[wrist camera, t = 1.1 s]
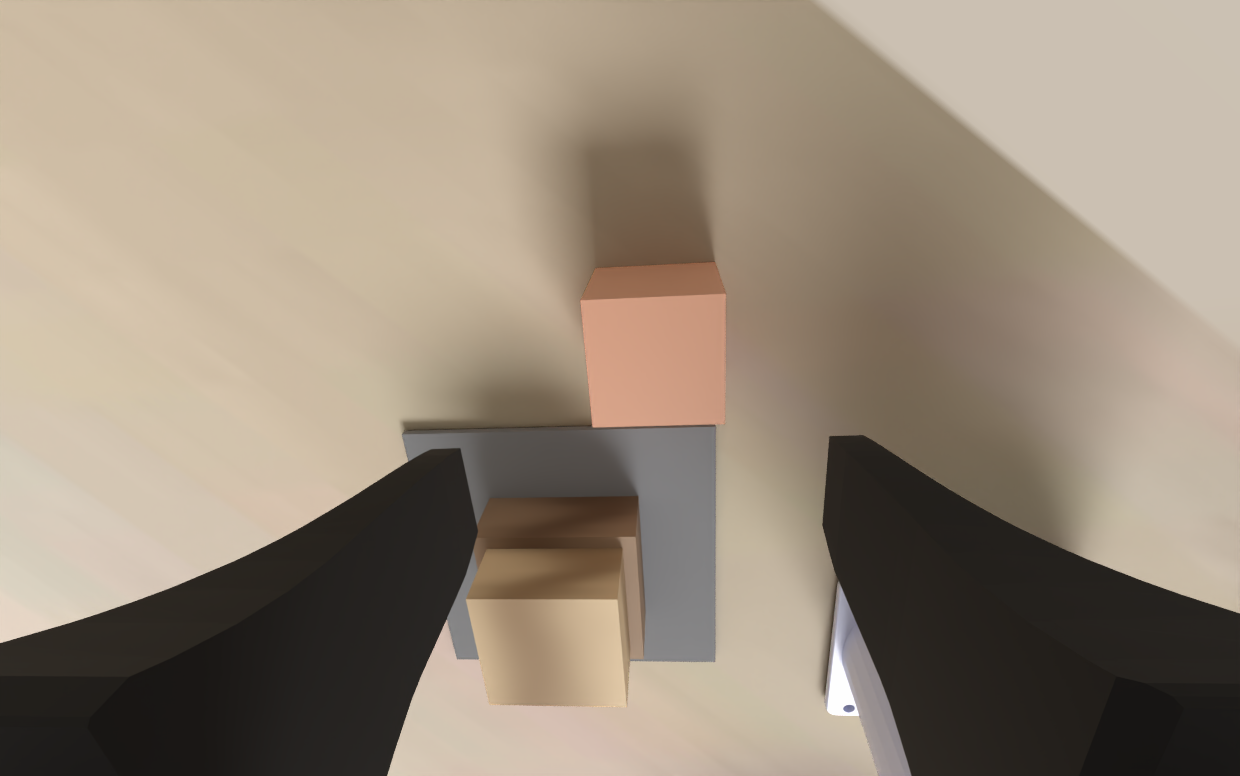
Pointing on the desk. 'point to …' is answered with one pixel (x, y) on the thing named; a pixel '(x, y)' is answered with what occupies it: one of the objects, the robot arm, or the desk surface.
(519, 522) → the tower base
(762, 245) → the desk surface
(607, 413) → the cube
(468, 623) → the mat
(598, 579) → the tower middle
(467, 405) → the desk surface
